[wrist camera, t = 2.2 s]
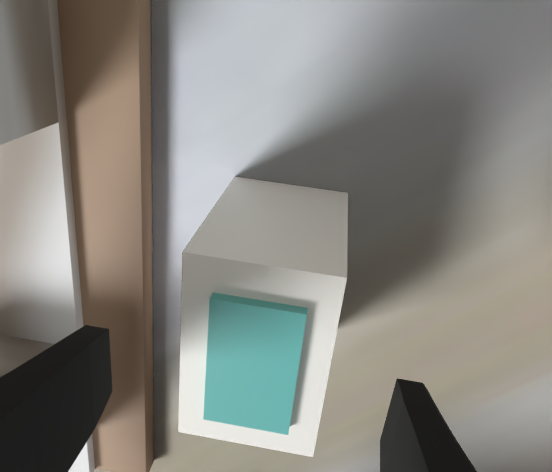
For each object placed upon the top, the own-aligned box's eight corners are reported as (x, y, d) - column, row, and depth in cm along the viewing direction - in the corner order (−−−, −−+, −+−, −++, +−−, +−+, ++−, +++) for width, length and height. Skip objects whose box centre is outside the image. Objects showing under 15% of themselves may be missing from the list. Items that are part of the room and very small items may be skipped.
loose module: (348, 192, 17) (347, 284, 11) (323, 333, 20) (312, 465, 14) (234, 176, 17) (178, 257, 12) (225, 317, 20) (175, 439, 14)
